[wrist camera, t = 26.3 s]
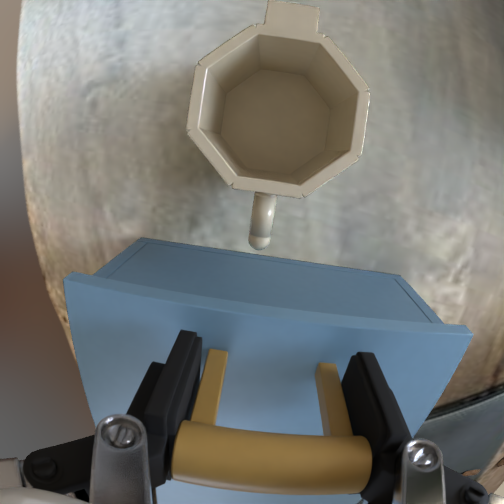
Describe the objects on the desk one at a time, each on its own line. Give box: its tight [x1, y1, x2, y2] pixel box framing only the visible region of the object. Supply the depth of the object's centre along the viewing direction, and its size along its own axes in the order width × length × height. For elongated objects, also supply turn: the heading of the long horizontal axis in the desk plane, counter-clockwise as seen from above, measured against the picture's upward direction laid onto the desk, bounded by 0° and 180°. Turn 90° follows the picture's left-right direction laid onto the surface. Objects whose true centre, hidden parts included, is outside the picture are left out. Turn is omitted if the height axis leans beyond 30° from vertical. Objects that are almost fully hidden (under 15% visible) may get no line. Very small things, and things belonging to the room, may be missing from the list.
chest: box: [92, 238, 444, 324], centre depth 18 cm, size 19×17×7 cm
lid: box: [63, 272, 473, 504], centre depth 12 cm, size 19×17×6 cm
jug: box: [186, 0, 370, 250], centre depth 14 cm, size 10×7×6 cm, turn 172°
